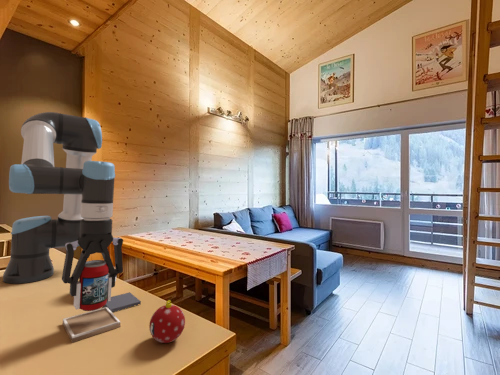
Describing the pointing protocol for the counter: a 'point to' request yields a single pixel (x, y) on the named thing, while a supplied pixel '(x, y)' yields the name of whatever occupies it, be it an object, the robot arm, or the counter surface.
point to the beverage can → (94, 285)
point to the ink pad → (122, 302)
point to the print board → (90, 324)
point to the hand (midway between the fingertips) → (92, 303)
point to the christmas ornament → (167, 323)
